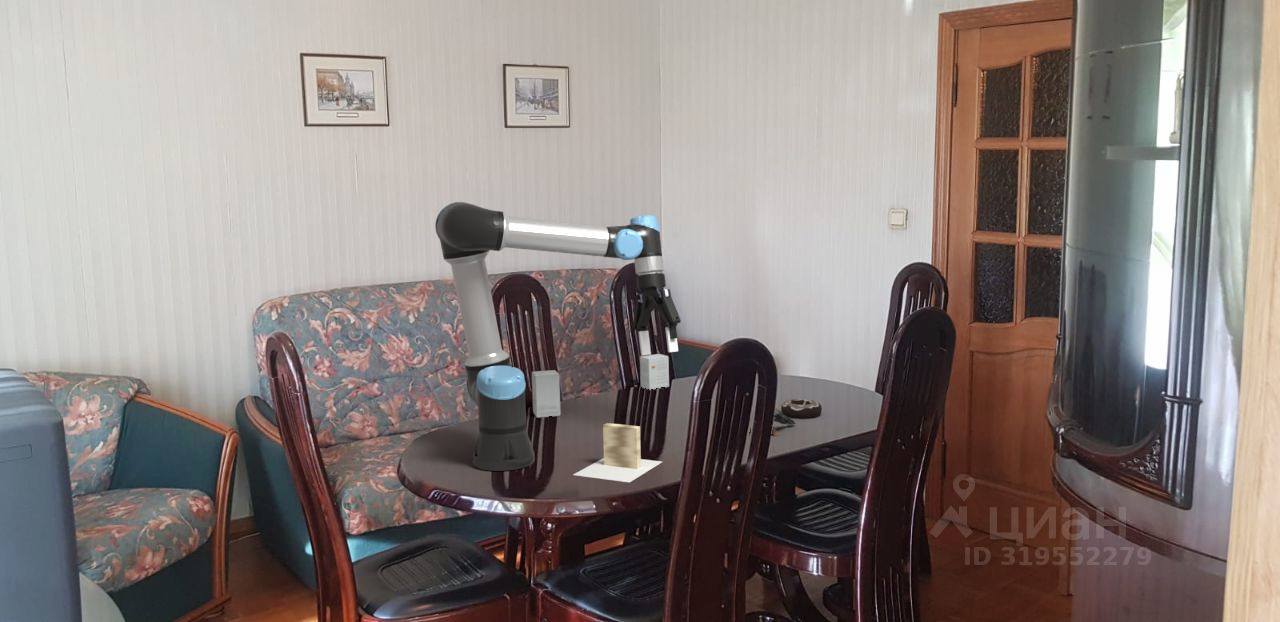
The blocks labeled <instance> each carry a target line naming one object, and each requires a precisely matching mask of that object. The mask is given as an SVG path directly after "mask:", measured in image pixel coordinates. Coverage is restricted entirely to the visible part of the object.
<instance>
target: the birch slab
mask: <svg viewBox="0 0 1280 622" xmlns="http://www.w3.org/2000/svg"><path fill="white" fill-rule="evenodd" d="M602 433H603V434H602V436H603V437H602V438H603V439H602V440H603V443H602V444H603V458H604V465H608V466H616V467H624V468H632V469H638V468H640V467H641V459H642V456H641V454H642V453H641V450H642V449H641V426H638V425H632V424H631V425H630V424H621V423H613V422H612V423H609V422H606V423H605V424H602Z"/></svg>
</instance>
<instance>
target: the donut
mask: <svg viewBox="0 0 1280 622" xmlns="http://www.w3.org/2000/svg"><path fill="white" fill-rule="evenodd" d="M822 409H823V408H822V404H821V403H819V402H818V401H817V400H813V399H808V398H793V399H788V400H785V401H784V402H783V403H782V404H781V407H780V411H781V413H782V414H783V415H785V416H786V417H788V418H790V419H802V420H807V419H813V418H817V417H818V416H820V415H821V413H822Z"/></svg>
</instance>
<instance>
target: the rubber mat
mask: <svg viewBox="0 0 1280 622" xmlns="http://www.w3.org/2000/svg"><path fill="white" fill-rule="evenodd" d="M662 463H663V461H660V460H651V459H644V458H643V459H642V458H641V467H640V468H638V469H632V468H624V467H616V466H608V465H604V457H603V458H601V459H599V460H597V461H595V462H594V463H592V464H590V465H588V466H586V467H584V468H583V469H581V470H579V471H577V472H575V473H574V474H572V476H576V477H578V476H579V477H585V478H591V479H592V478H593V479H601V480H608V481H615V482H623V483H631V482H633V481H634V480H636V479H638V478H639V477H641V476H642V475H644V474H647V473H648V471H650V470H652V469H653V468H655V467H657V466H658V465H660V464H662Z"/></svg>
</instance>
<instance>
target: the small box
mask: <svg viewBox="0 0 1280 622" xmlns="http://www.w3.org/2000/svg"><path fill="white" fill-rule="evenodd" d="M669 363H670V362H669V355H666V354H665V355H664V354H661V353H655V354H650V355H640V357H639V370H640V373H639V374H640V375H639V376H640V378H639V379H640V388H641V387H642V389H645V388H646V390H648V389H649V390H648V391H652V390H651V389H653V390H657V389H656V388H659V389H662V388H661V387H665V388H669V387H670V375H669V374H670V371H669V369H670V367H669V365H670V364H669Z"/></svg>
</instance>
